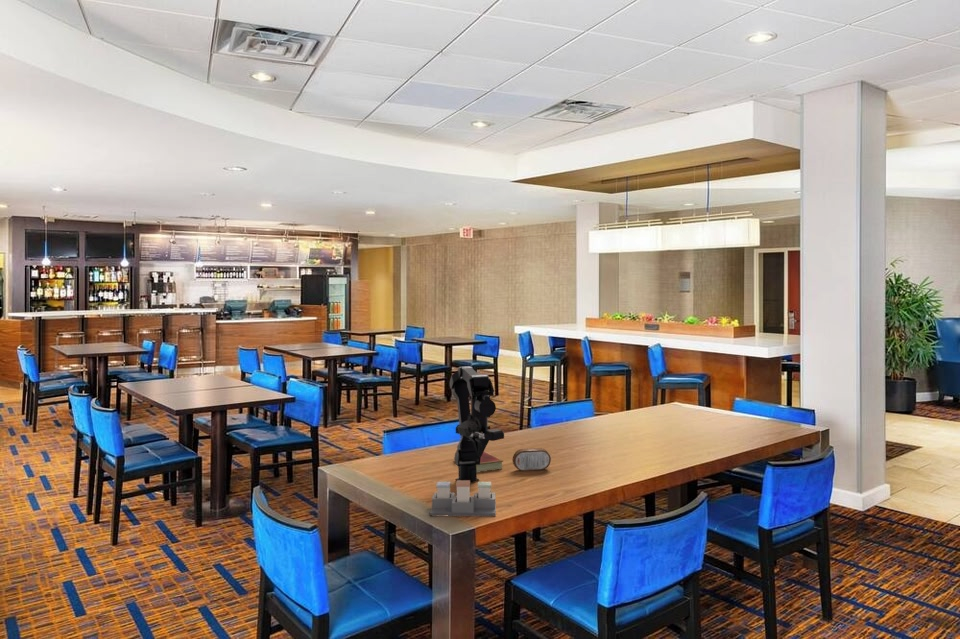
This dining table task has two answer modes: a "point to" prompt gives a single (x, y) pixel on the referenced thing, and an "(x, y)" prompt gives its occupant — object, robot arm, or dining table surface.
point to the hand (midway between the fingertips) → (479, 456)
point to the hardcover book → (488, 462)
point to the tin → (531, 459)
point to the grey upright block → (443, 489)
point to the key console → (463, 506)
